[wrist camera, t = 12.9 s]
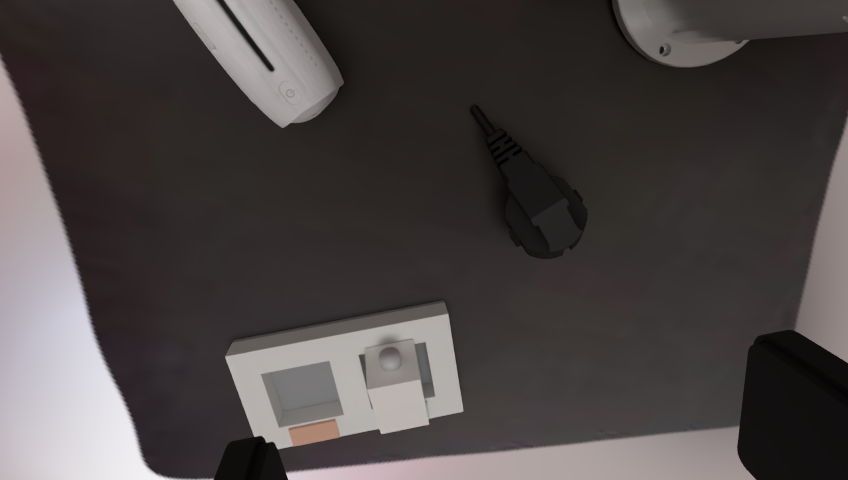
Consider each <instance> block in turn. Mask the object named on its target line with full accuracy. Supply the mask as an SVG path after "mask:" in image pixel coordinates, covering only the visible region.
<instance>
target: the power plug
mask: <svg viewBox="0 0 848 480" xmlns="http://www.w3.org/2000/svg"><path fill="white" fill-rule="evenodd" d="M471 113H472V114H473V116H474V117H475V119H476V120H477V121H478V123H479V124H480V126H481V127H482V128H483V130H484V131H485V133H486V134H487V135H488V137H487V138H486V144H487V146H488V148H489V150H490V152H491V155H492V157H493V158H494V161H495V163H496V164H497V167H498V169H499V170H500V173H501V175H502V177H503V179H504V180H505V182H506V183H507V184H506V186H507V188H508V189H509V190H510V192H511V193H510V196H509V198H508V201H507V204H506V209H505V218H506V221H507V224H508V226H509V228H510V229H511V230H510V231H509V234H510V237H511V239H512V240H513V242H514V243H515V245H516V246H517V247H518V246H520V245H522V247H523V248H524V250H525V251H526V253H527V254H528V255H530V256H532V257H536V258H541V259H551V258H556V257H559V256H562V255H563V251H564V249H566V248H568V247H569V248H570V250H572V249H573V248H574V247H575V246H576V245H577V243H578V242H579V240H580V239H581V237H582V234H583V231H584V228H585V225H586V222H587V209H586V208H585V206H584V205H583V204H582V201H583V199H582V198H581V196H580V195H579V194H578V192H577V191H576V190H572V189H571V188H570V186H569V185H568V184H567V182H566V181H565V180H564V179H562V178H559V177H555V176H550V175H549V174H548V173H547V172H546V170H545V169H544V168H543V166H542V165H541V164H540V163H537V164H536V163H534V161H533V160H532V159H531V157H530V156H529V155H528V153H527V152H526V151H525V150H524V151H523V149H522V147H521V146H520V145H517V143H516V142H515V141H514V140H513V141H512V138H511V137H510V136H509V135H507V133H506V132H505V131H504V130H503V129H499V130H497V131H496V130H495V129H494V128H493V126H492V125H491V124H490V122H489V121H488V119H487V118H486V117H485V115H484V114H483V112H482V111H481V110H480V108H479V107H478V106H475V107H473V108H472V109H471Z"/></svg>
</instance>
